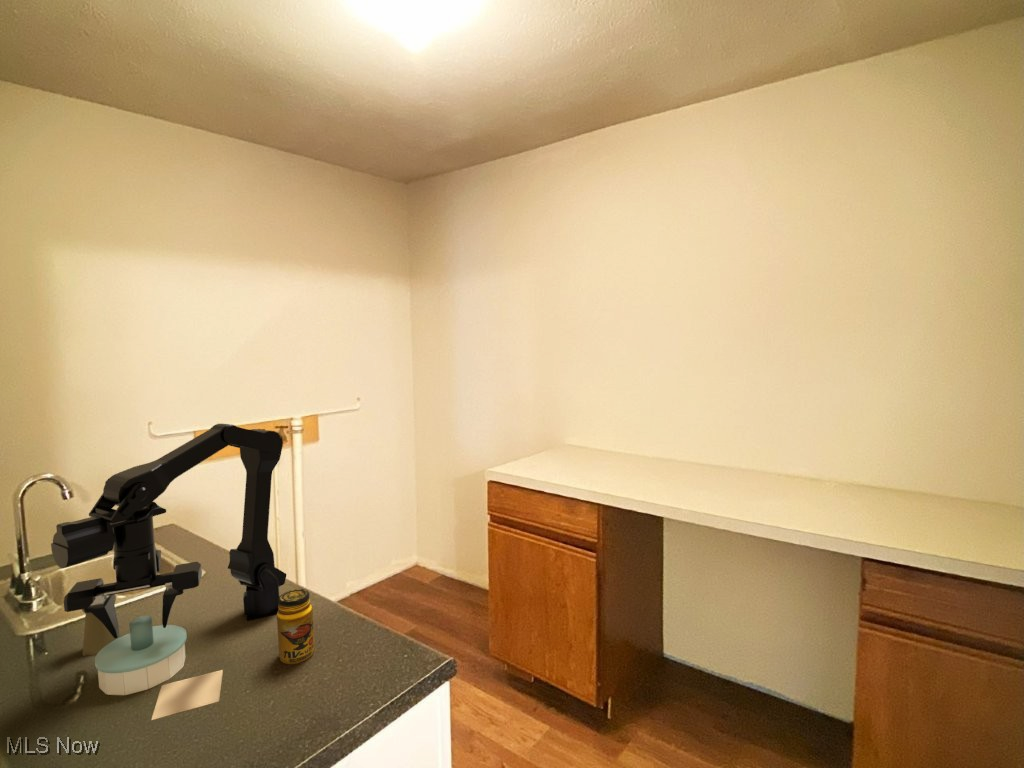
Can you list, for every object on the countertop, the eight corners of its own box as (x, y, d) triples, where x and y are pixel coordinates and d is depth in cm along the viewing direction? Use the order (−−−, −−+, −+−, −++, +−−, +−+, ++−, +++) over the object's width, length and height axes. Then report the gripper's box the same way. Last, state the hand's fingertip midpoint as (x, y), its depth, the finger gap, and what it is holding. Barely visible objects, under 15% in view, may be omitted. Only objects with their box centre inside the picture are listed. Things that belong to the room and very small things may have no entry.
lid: (191, 622, 98) (189, 595, 98) (181, 659, 87) (178, 629, 86) (107, 640, 93) (104, 612, 92) (84, 682, 81) (81, 650, 81)
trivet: (223, 672, 90) (223, 669, 90) (219, 704, 82) (218, 701, 82) (162, 688, 86) (161, 685, 86) (151, 723, 78) (151, 720, 78)
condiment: (299, 672, 90) (295, 606, 89) (260, 663, 92) (256, 600, 92) (326, 648, 97) (323, 587, 96) (289, 641, 99) (286, 581, 98)
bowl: (188, 646, 98) (187, 624, 98) (179, 683, 87) (177, 658, 87) (111, 664, 93) (109, 641, 93) (91, 706, 82) (89, 679, 82)
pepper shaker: (100, 659, 95) (95, 601, 94) (73, 655, 96) (68, 599, 95) (130, 640, 101) (125, 586, 100) (105, 637, 102) (100, 584, 101)
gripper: (202, 522, 100) (207, 599, 101) (81, 539, 92) (88, 623, 93) (195, 541, 90) (201, 626, 91) (58, 563, 82) (67, 656, 83)
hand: (141, 631), depth 90 cm, fingers open, 7 cm apart
